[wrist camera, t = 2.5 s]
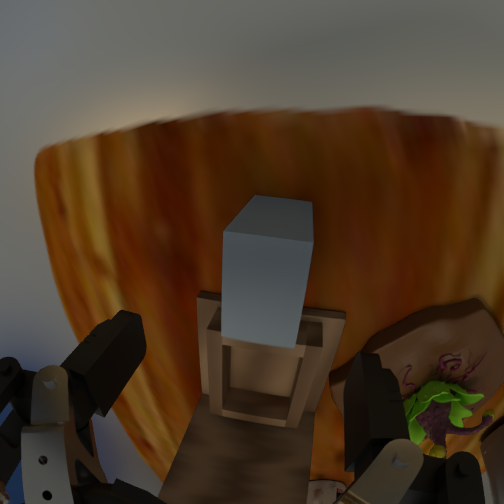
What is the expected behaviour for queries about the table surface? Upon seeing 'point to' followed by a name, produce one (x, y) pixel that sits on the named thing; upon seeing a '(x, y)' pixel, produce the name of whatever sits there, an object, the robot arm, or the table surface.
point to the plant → (438, 369)
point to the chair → (253, 414)
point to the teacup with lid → (324, 491)
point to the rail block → (266, 271)
